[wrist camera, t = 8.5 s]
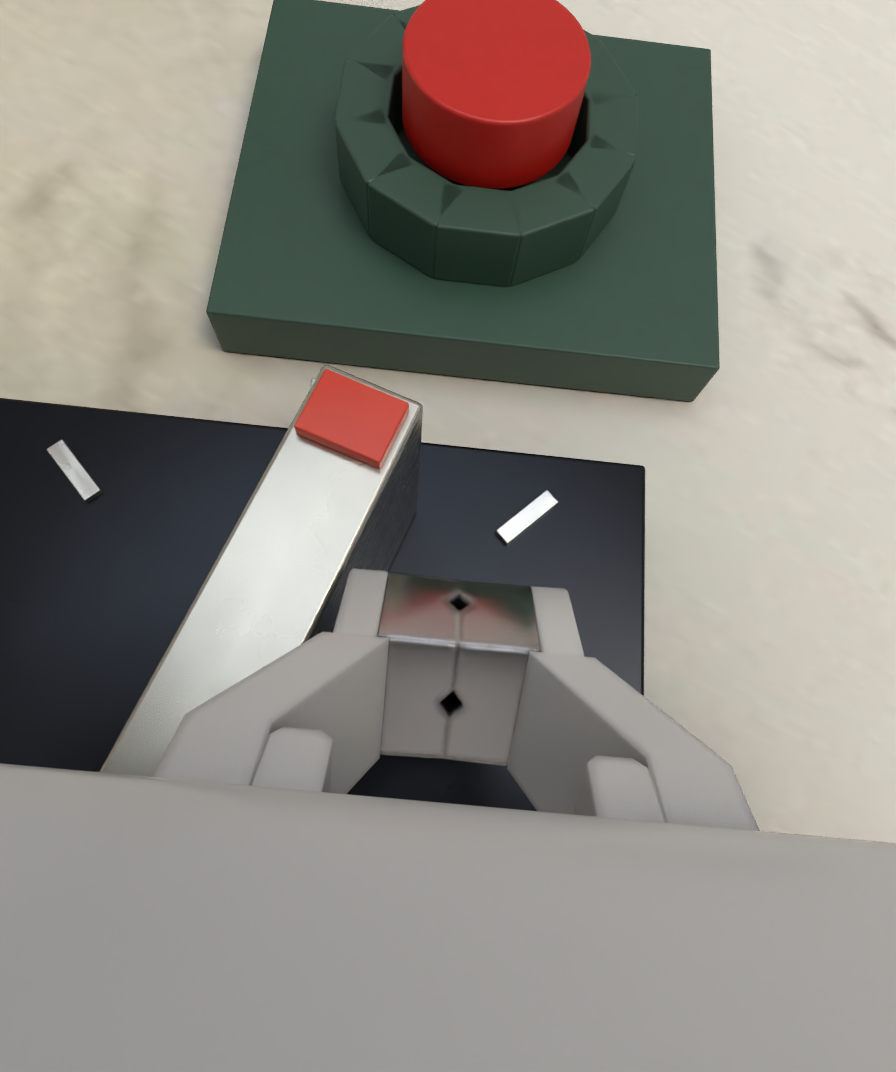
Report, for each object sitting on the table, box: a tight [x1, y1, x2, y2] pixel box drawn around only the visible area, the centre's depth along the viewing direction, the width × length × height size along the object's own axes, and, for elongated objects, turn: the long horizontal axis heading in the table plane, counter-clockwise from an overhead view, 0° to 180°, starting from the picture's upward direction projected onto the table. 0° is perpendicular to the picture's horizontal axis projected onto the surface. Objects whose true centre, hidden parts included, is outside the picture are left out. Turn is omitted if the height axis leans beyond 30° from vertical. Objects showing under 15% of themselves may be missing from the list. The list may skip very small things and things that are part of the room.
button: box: [402, 0, 591, 189], centre depth 16 cm, size 4×4×2 cm
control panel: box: [0, 378, 645, 811], centre depth 15 cm, size 14×14×3 cm
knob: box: [99, 365, 423, 777], centre depth 11 cm, size 10×2×5 cm, turn 157°
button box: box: [206, 0, 719, 401], centre depth 18 cm, size 12×10×4 cm
